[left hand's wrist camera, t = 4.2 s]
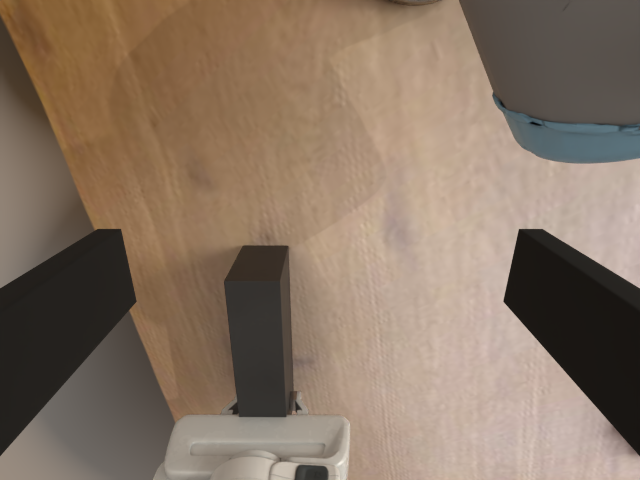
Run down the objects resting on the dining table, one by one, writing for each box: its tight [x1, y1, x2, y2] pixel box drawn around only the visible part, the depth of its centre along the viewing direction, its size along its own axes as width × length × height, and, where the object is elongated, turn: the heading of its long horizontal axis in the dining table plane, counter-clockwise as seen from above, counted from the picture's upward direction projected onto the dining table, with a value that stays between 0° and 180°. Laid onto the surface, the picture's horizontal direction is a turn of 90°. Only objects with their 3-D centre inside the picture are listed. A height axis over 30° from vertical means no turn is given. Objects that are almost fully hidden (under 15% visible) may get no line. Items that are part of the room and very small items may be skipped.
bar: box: [224, 246, 293, 417], centre depth 44 cm, size 23×6×9 cm, turn 0°
